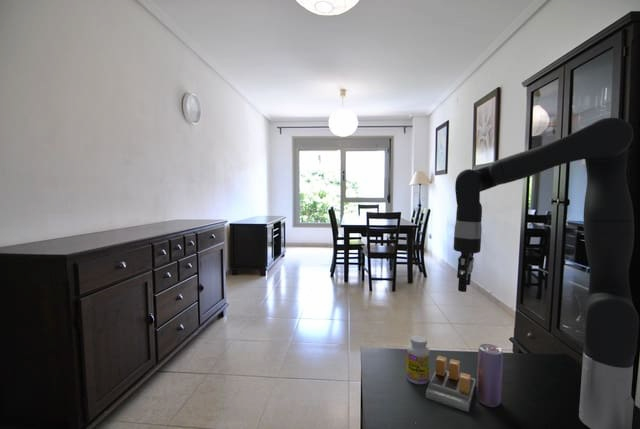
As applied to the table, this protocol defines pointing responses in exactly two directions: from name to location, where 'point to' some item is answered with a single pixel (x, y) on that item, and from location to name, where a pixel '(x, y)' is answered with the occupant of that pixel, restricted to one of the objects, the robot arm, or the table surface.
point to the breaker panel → (449, 391)
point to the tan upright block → (464, 383)
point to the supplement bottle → (418, 360)
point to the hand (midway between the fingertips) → (464, 287)
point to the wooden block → (441, 365)
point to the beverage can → (489, 375)
